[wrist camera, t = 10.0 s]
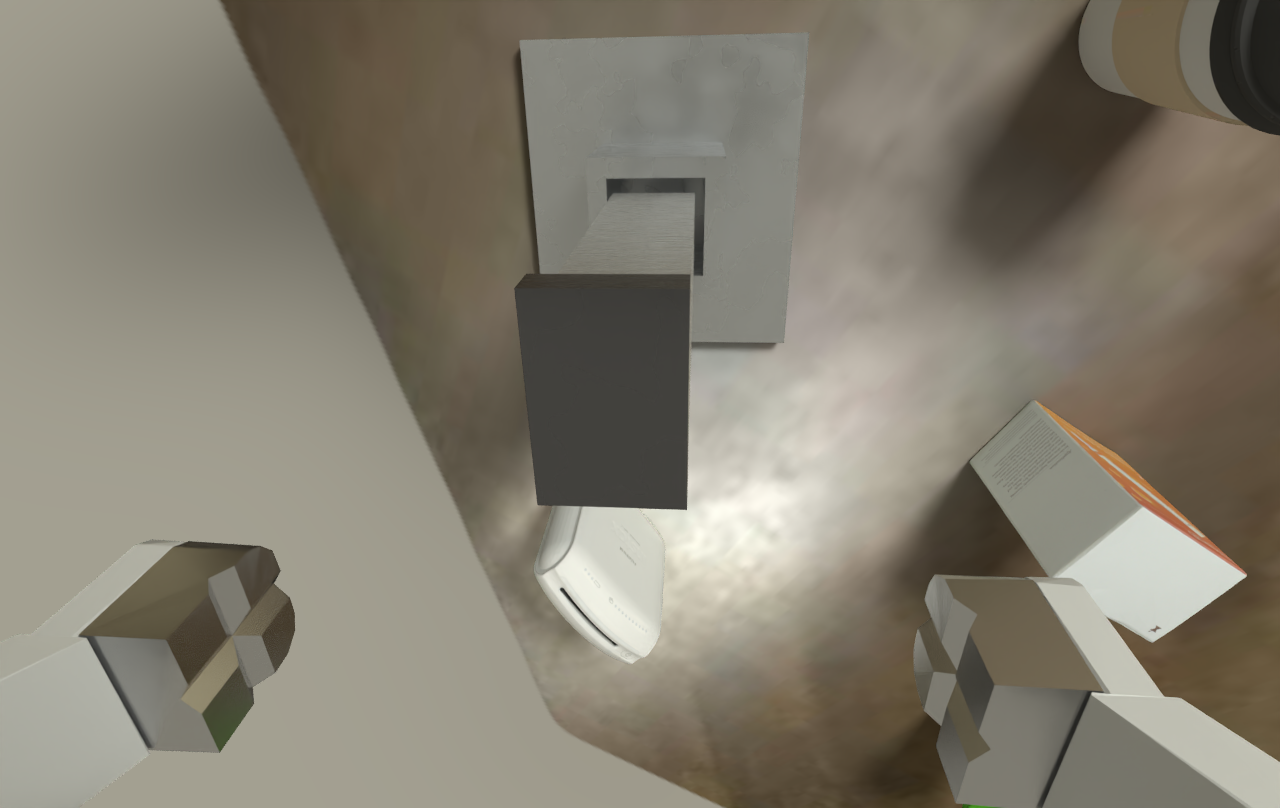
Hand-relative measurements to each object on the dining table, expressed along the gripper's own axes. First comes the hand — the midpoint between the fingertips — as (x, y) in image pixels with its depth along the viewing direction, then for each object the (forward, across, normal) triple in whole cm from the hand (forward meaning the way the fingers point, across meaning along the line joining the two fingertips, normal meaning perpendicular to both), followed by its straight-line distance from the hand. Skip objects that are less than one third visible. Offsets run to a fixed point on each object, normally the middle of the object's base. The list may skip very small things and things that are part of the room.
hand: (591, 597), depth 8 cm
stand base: (+37, +1, +2) cm, 37 cm away
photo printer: (+37, +5, +26) cm, 45 cm away
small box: (+37, -26, +20) cm, 49 cm away
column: (+27, +1, +2) cm, 27 cm away
